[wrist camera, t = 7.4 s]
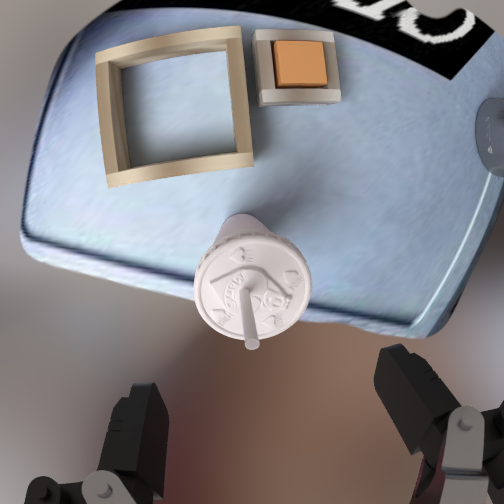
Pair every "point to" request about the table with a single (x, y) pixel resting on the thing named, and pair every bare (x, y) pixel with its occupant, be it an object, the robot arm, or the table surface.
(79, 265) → the table surface
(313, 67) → the button
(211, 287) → the smoothie
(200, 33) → the station
